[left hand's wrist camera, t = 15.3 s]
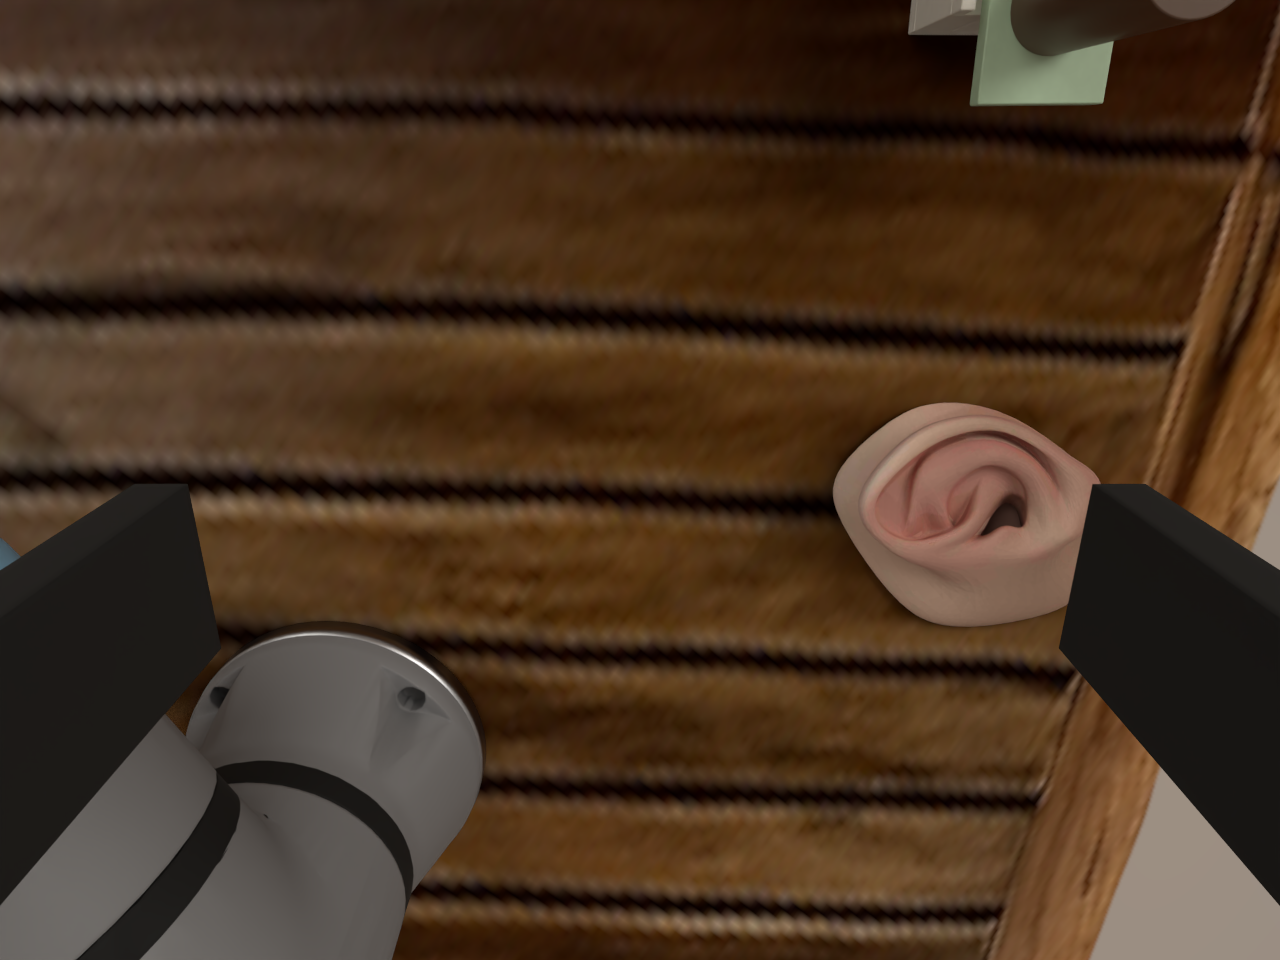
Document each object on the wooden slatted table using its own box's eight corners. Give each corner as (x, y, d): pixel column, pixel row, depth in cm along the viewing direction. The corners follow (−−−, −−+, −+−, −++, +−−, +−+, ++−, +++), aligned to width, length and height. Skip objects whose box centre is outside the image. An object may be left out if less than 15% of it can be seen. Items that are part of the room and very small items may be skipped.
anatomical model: (1171, 618, 38) (933, 714, 40) (1125, 578, 42) (909, 667, 44) (1088, 364, 34) (827, 483, 36) (1044, 344, 38) (809, 453, 40)
